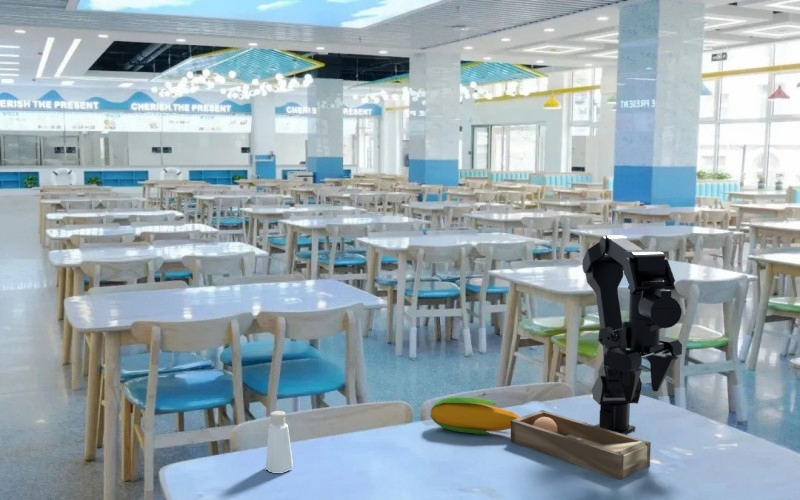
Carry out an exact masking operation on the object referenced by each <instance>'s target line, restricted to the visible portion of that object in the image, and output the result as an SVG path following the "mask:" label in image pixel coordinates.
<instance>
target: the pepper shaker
mask: <svg viewBox="0 0 800 500" xmlns="http://www.w3.org/2000/svg"><path fill="white" fill-rule="evenodd" d="M269 415H270V421H271V422H270V424H269V425H268V432H267V443H266V444H267V445H266V458H265V460H266V461H265V470H266V469H267V470H269V471H271V472H284V471H287V470H289V469H291V468H292V467H293V468H294V462H293V453H292V446H291V439H290V431H289V425H288V423H286V412H285V411H283V410H274V411H271V412H270V414H269Z"/></svg>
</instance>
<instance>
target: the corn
mask: <svg viewBox="0 0 800 500" xmlns="http://www.w3.org/2000/svg"><path fill="white" fill-rule="evenodd" d="M496 404H497V402H495V401H492V400H489V399H484V398H478V397H466V396H465V397H464V396H463V397H462V396H460V397H459V396H449V397H446V398H443V399H441V400H439V401H438V402H436V403H434V405H433V406H432V407H431V409H430V418H431V419H432V421H433V422H434V423H435V424H436V425H438V426H439V427H441V428H443V429H445V430H448V431H451V432H458V433H459V432H460V433H466V434H468V433H469V434H475V435H490V432H497V431H498V432H500V431H506V430H511V420H514V419H517V418H520V417H521V416H519V415H518V414H517V413H515V412H513V411H511V410H507V409H505V408H504V409H503V408H500V407H497V406H495V405H496Z"/></svg>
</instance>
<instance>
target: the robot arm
mask: <svg viewBox="0 0 800 500" xmlns="http://www.w3.org/2000/svg"><path fill="white" fill-rule="evenodd" d="M581 265H582V270H583V273H584V274H585V279H586V283H587V284H588V286H589V287H590V288H591V289H592V290H593V291H594V293H595V296H596V297H595V298H596V305H597V309H598V310H597V313H598V320H599V326H600V327H599V330H598V339H597V341H598V342H599V343H600V345H602V351H603V352H602V353H603V354H602V362H601V364H600V366H599V368H598V371H597V376H598V377H597V378H596V380H595V382H594V384H593V386H592V389H591V392H592V393H591V394H592V399H593V400H594V401H595V402H596V404H598V405H599V409H600V410H599V418H598V419H599V423H598V424H595V425H594V426H597V427H601V428H604V429H607V430H611V431H614V432H618V433H621V434H624V435H626V434H627V433H629V432H632V431H634V430H636V426H634V425H631V424H630V411H631V410H630V408H631V405H630V404H637V405H638V404H639V401H640V397H641V391H642V386H643V382H642V381H641V374H642V371H643V369H642V368H640V367H641V366H642V362H643V361H642V360H643V359H644V358H646V360H648V362H649V365H650V382H651V383H650V384H651V391H653V392H655V393H656V392H659V390H660V389H661V386H662V385H663V383H664V381H665V380H666V377H667V376H668V374H669V372H670V370H671V369H672V368H673V365H674V364H675V362H676V361H677V360H678V359H679V356H680V355H682V354H683V344H682V343H681V341H680V340H679V339H676V338H670V337H665V336H661V334H660V331H661V330H660V329H669V328H672V327H674V326H675V325H676V324H678V322H679V321H680V319H681V317H682V314H683V313H682V310H683V309H682V307H681V305H680V303H679V301H677V299H675V298H673V296H672V291H674V290H676V289H675V282H676V279H675V276H674V273H673V270H672V268H671V264H670V262H669V260H668V257H667V256H666V254H664V252H662V251H658V250H650V249H649V250H648V249H644V248H643V249H642V247H640V246H638V245H637V244H635V243H633V242H632V241H630V240H629V239H628V238H627V236H624V235H623V234H614V235H613V234H610V235H607V234H606V235H604V236H601V237H600V240H599V241H598V242H596V244H593V245H592V246H591V247H589V248H588V249H587V250H586V252H585V255H584V257H583V258H582V264H581ZM624 276H625V279H626V281H627V284H628V287H627V289H628V290H629V303H628V304H629V305H628V320H625V321H624V322H623V320H622V319H623V318H622V312H621V305H620V303H621V302H620V298H619V291H618V288H619V286H620V284H621V281H622V280H623V278H624Z"/></svg>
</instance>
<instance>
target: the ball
mask: <svg viewBox="0 0 800 500" xmlns="http://www.w3.org/2000/svg"><path fill="white" fill-rule="evenodd" d="M533 426H536V427H539V428H542V429H545V430H549V431H552V432H555V433H557V425H556V423H555V422H554V421H553V420H552V419H551V418H548V417H541V418H539V419H537V420H536V421H535V422H534V424H533Z"/></svg>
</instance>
